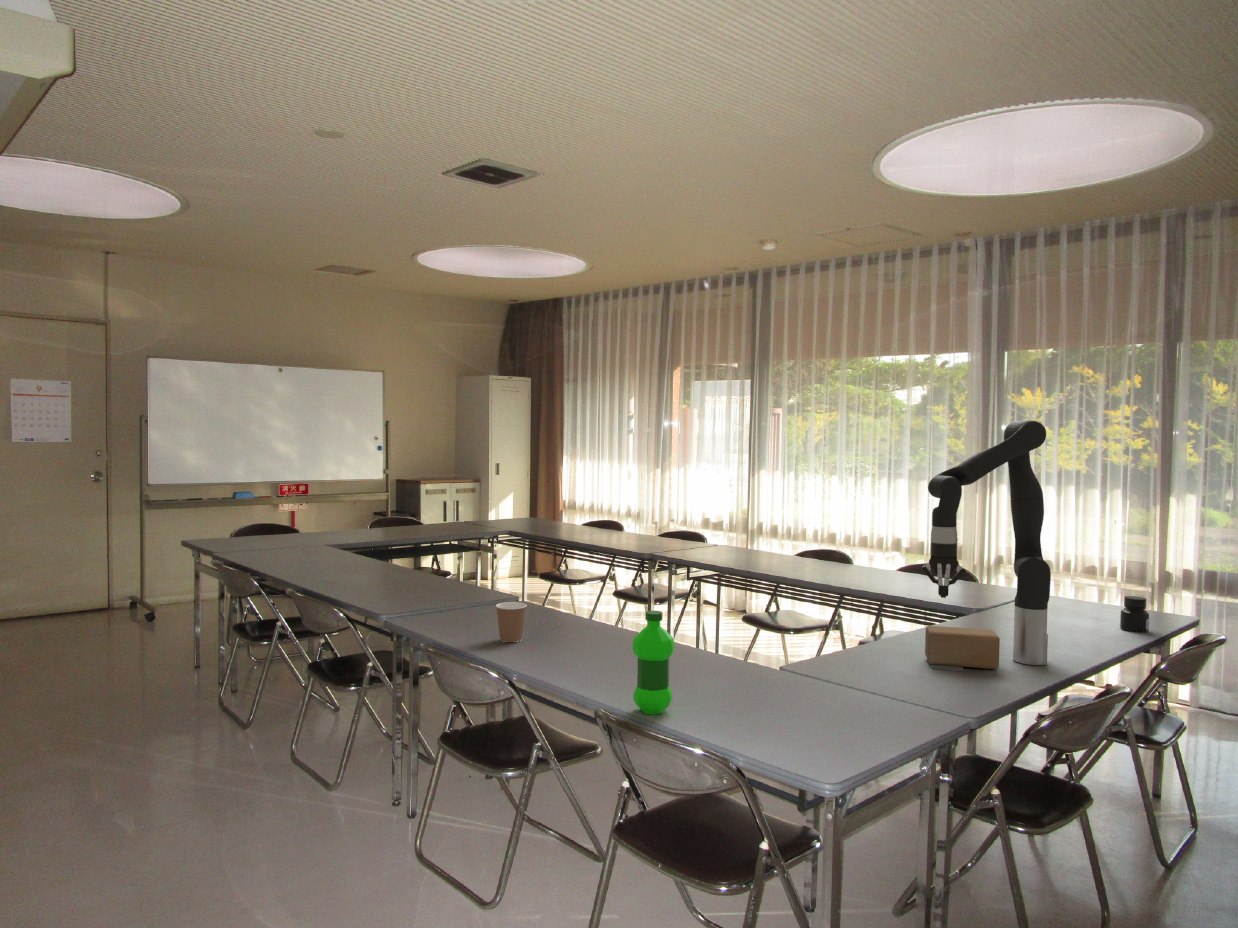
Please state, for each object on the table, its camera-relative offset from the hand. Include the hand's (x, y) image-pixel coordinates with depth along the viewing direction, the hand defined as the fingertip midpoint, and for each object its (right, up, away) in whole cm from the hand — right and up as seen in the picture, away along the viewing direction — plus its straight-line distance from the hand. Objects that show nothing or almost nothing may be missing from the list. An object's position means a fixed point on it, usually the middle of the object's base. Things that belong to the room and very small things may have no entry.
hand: (943, 597), depth 252 cm
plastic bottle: (-91, -22, -45) cm, 104 cm away
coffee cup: (-136, -19, +23) cm, 139 cm away
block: (-4, -15, +3) cm, 16 cm away
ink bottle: (+89, -20, +49) cm, 104 cm away
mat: (+1, -21, 0) cm, 21 cm away
